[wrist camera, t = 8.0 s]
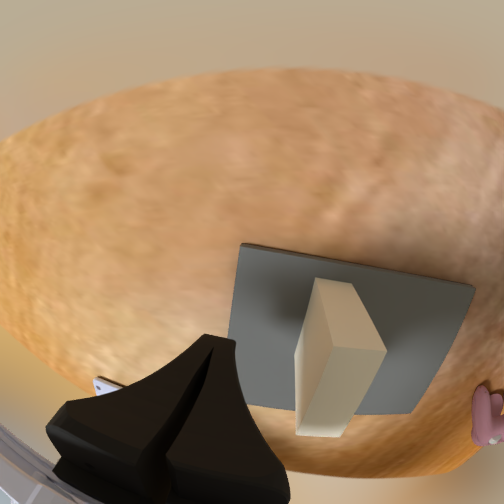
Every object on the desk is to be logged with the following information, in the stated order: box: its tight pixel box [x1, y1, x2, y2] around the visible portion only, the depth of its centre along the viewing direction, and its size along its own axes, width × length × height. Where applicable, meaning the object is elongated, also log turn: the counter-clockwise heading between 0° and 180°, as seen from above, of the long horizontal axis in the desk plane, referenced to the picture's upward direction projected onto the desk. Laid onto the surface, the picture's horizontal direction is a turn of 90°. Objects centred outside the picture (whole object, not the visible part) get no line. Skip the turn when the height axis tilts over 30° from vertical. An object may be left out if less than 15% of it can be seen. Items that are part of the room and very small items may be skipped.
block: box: [294, 277, 387, 437], centre depth 12 cm, size 5×2×6 cm, turn 171°
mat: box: [227, 243, 476, 415], centre depth 15 cm, size 11×15×1 cm
